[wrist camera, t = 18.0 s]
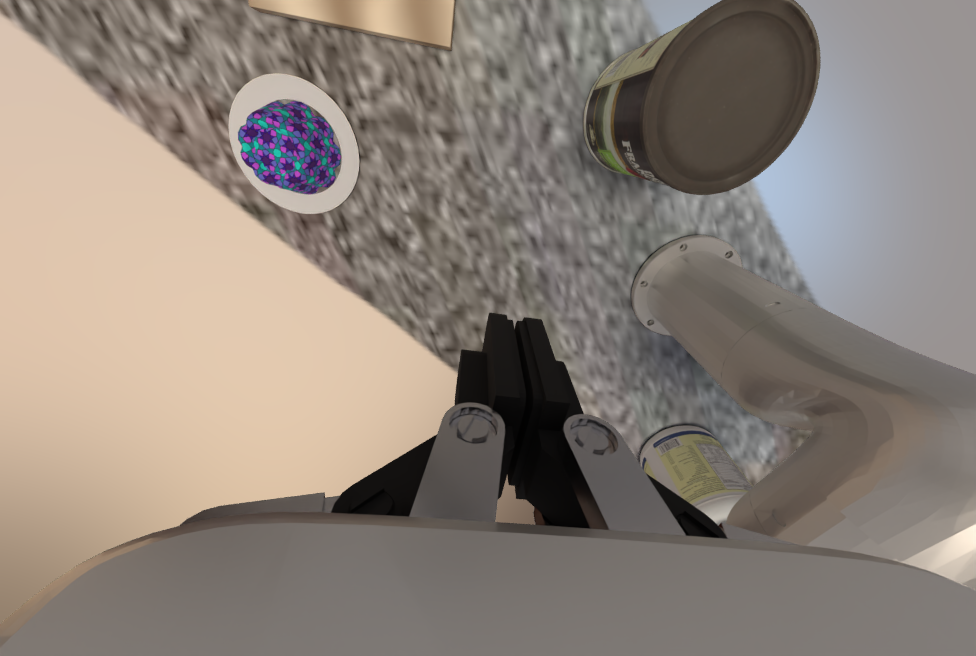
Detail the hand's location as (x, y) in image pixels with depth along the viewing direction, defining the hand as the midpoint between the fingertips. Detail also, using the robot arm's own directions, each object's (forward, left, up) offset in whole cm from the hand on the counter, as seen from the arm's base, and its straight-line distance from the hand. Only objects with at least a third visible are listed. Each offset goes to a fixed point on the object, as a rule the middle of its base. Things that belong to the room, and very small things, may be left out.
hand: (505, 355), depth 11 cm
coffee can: (-13, -10, -29) cm, 34 cm away
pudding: (+19, -2, -30) cm, 35 cm away
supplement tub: (-36, +33, -29) cm, 57 cm away
